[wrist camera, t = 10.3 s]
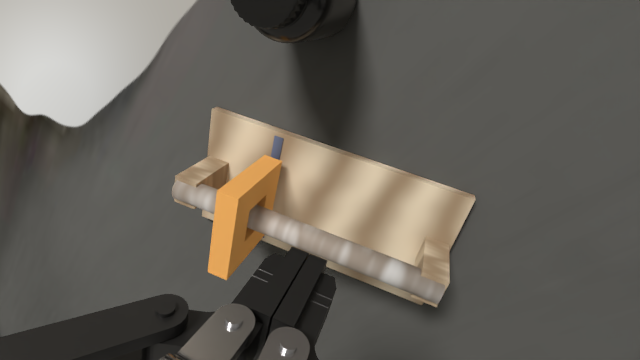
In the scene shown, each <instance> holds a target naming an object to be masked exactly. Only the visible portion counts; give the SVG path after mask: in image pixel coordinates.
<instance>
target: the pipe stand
mask: <svg viewBox="0 0 640 360" xmlns="http://www.w3.org/2000/svg"><path fill="white" fill-rule="evenodd" d="M264 155H267V156H270V157H272V158H275V159H278V160H281V161H282V165H281V170H280V175H279V180H278V185H277V190H276V195H275V200H274V205H273V210H269V209H267V208H264V207H262V206H259V205H257V204H256V205H255V206H254V207H253V208H252V209H251V210H250V212H249V218H248V224H247V228H250V229H252V230H255V231H257V232H260V233H262V234H264V236H263V238H262V239H261V240H262V241H265V242H267V243H270V244H272V245H274V246H277V247H279V248H282V249H284V250H287V251H289V250H290V248H291V247H295V248H298V249H300V250H303V251H305V252H308V253H309V255H310V254H313V255H315V256H318V257H320V258H323V259H325V260H327V264H326V267H329V268H331V269H334V270H336V271H338V272H341V273H343V274H346V275H348V276H351V277H353V278H356V279H358V280H361V281H363V282H365V283H368V284H370V285H373V286H375V287H378V288H380V289H383V290H385V291H388V292H390V293H393V294H395V295H397V296H400V297H402V298H405V299H407V300H410V301H412V302H415V303H417V304H420V305H422V304H423V302H425V303H427V304H430V305H432V306H435V307H437V305H438V304H439V302H440V300H441V298H442V296H443V294H444V292H445V290H446V289H447V287H448V285H449V283H450V273H449V251H450V249H451V247H452V245H453V243H454V241H455V239H456V237H457V235H458V233H459V231H460V229H461V227H462V225H463V223H464V221H465V220H466V218H467V216H468V214H469V212H470V210H471V208H472V206H473V204H474V202H475V195H472V194H469V193H466V192H463V191H460V190H457V189H455V188H452V187H449V186H446V185H443V184H440V183H437V182H434V181H431V180H428V179H425V178H423V177H420V176H417V175H414V174H411V173H408V172H405V171H402V170H399V169H396V168H393V167H391V166H388V165H385V164H382V163H379V162H376V161H373V160H370V159H367V158H364V157H361V156H359V155H356V154H353V153H350V152H347V151H344V150H341V149H338V148H335V147H332V146H329V145H327V144H324V143H321V142H318V141H315V140H312V139H309V138H306V137H303V136H300V135H297V134H295V133H292V132H289V131H286V130H283V129H280V128H277V127H274V126H271V125H268V124H265V123H263V122H260V121H257V120H254V119H251V118H248V117H245V116H242V115H239V114H236V113H233V112H231V111H228V110H225V109H222V108H219V107H215V108H213V109H212V113H211V124H210V134H209V145H208V156H207V158H205V159H204V160H202V161H200V162H198V163H197V164H195V165H193V166H191V167H190V168H188V169H186V170H185V171H183V172H181V173H179V174H178V175H176V176H175V184H174V186H173V189H172V196H173V198H174V201H175V202H178V203H180V204H183V205H185V206H188V207H190V208H192V209H195V208H200V209H202V216H203V217H206V218H208V219H211V220H213V221H214V212H215V203H216V194H217V190H218V189H220V188H221V187H222V186H224V185H225V184H226V183H228V182H229V181H230V180H232V179H233V178H234V177H236V176H237V175H238V174H240V173H241V172H242V171H244V170H245V169H246V168H248V167H249V166H250V165H252V164H253V163H254V162H256V161H257V160H258V159H260V158H261V157H262V156H264Z"/></svg>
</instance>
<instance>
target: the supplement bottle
mask: <svg viewBox="0 0 640 360" xmlns="http://www.w3.org/2000/svg"><path fill="white" fill-rule="evenodd" d="M231 4H232V5H233V6H234V10H235V11H236V12H238V15H239V17H241V18H243V20H244V21H245V22H247V23H249V24H250V25H251V26H254V27H255V28H256V29H257V30H258V31H259V32H260V33H261V34H263V35H264V36H266V37H267V38H269V39H271V40H274V41H277V42H281V43H297V42H304V41H310V40H317V39H323V38H327V37H330V36H332V35H334V34H336V33H338V32H339V31H340V30H341V29H343V28H344V27H345V25H346V24H347V23H348V21H349V20H350V18H351V16H352V14H353V11H354V9H355V5H356V0H231Z"/></svg>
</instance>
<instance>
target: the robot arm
mask: <svg viewBox="0 0 640 360" xmlns="http://www.w3.org/2000/svg"><path fill="white" fill-rule="evenodd" d="M326 264H327V260H325V259H323V258H320V257H318V256H315V255H313V254H310V255H309V253H308V252H305V251H303V250H300V249H298V248H295V247H291V248H290V250H289V251H288V253H287V254H286V256H285V257H283V256H280V255H278V254H273V255H272V256H270V257H268V258H266V259H265V260H264V261H263V262H262V264H261V265H260V266H259V268H258V270H256V272H255V273H254V274H253V276H252V277H251V278H250V280H249V281H248V282H247V283H246V285H245V286H244V287H243V289H242V290H241V291H240V293H239V294H238V295H237V297H236V298H235V299H234V301H233V302H232V303H231V304H227V305H224V306H222V307H220V308H219V309H218V310H216V312H201V311H194V310H189V309H188V304H187V302H186V301H185V300H184V299H183V298H182V297H180V296H177V295H173V294H164V295H159V296H155V297H151V298H148V299H144V300H140V301H136V302H132V303H129V304H125V305H121V306H117V307H114V308H110V309H106V310H102V311H98V312H95V313H91V314H87V315H83V316H79V317H76V318H72V319H68V320H64V321H61V322H57V323H53V324H49V325H45V326H42V327H38V328H34V329H30V330H27V331H23V332H19V333H15V334H11V335H8V336H4V337H0V360H319V359H318V358H317V356H316V353H315V344H316V342H317V339H318V337H319V334H320V332H321V329H322V327H323V324H324V322H325V319H326V317H327V314H328V311H329V308H330V305H331V303H332V300H333V297H334V294H335V291H336V283H335V278H334V277H332V276H329V275H327V274H324V271H325V267H326Z"/></svg>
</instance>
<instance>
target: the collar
mask: <svg viewBox="0 0 640 360" xmlns="http://www.w3.org/2000/svg"><path fill="white" fill-rule="evenodd" d="M281 165H282V161H281V160H278V159H275V158H272V157H270V156H267V155H264V156H262V157H261V158H260V159H258V160H257V161H256V162H254V163H253V164H252V165H250V166H249V167H248V168H246V169H245V170H244V171H242V172H241V173H240V174H238V175H237V176H236V177H234V178H233V179H232V180H230V181H229V182H228V183H226V184H225V185H224V186H222V187H221V188H220V189H218V190H217V194H216V203H215V212H214V221H213V230H212V239H211V247H210V256H209V265H208V272H209V273H211V274H213V275H216V276H218V277H220V278H223V279H225V280H227V279H228V278H229V277H230V276H231V274H232V273H233V272H234V271H235V270H236V268H237V267H238V266H239V265H240V264H241V263H242V261H243V260H244V259H245V258H246V257H247V255H248V254H249V253H250V252H251V251H252V249H253V248H254V247H255V246H256V245H257V243H258V242H259V241H260V240H261V239H262V238H263V236H264V234H262V233H260V232H257V231H255V230H252V229H250V228H247V224H248V218H249V212H250V210H251V209H252V208H253V207H254V206H255V205H256V204H257V205H259V206H262V207H264V208H267V209H269V210H273V205H274V200H275V195H276V190H277V185H278V180H279V175H280V170H281Z"/></svg>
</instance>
